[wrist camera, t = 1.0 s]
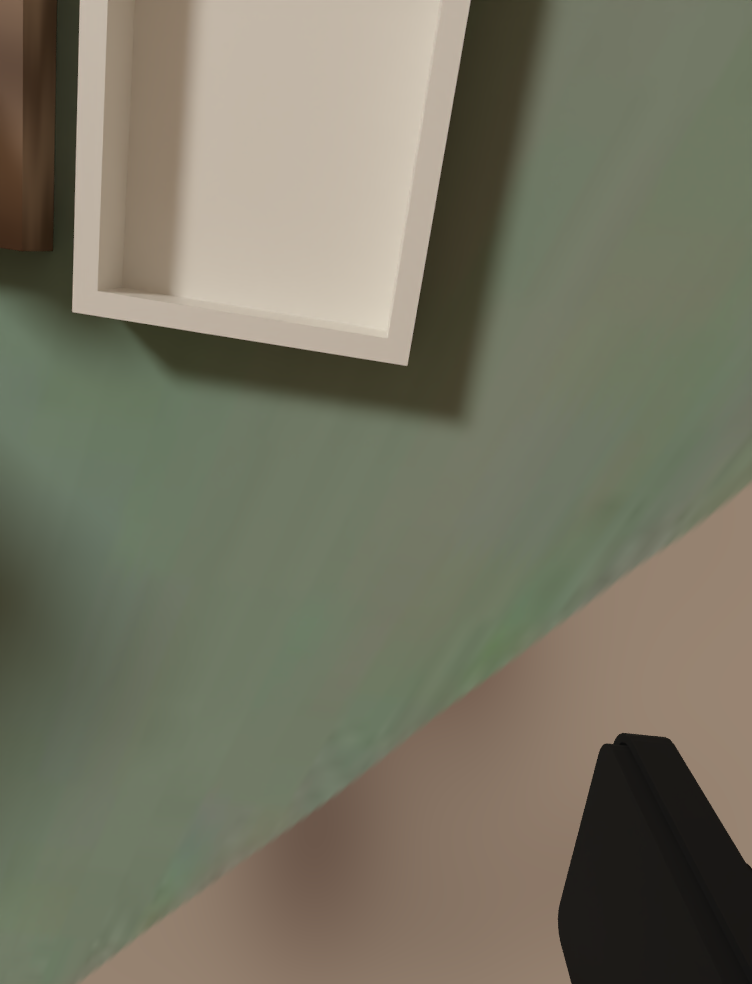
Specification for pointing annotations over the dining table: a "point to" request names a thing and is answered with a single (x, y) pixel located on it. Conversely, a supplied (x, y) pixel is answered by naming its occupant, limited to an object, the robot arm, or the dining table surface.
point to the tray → (263, 166)
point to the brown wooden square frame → (27, 123)
